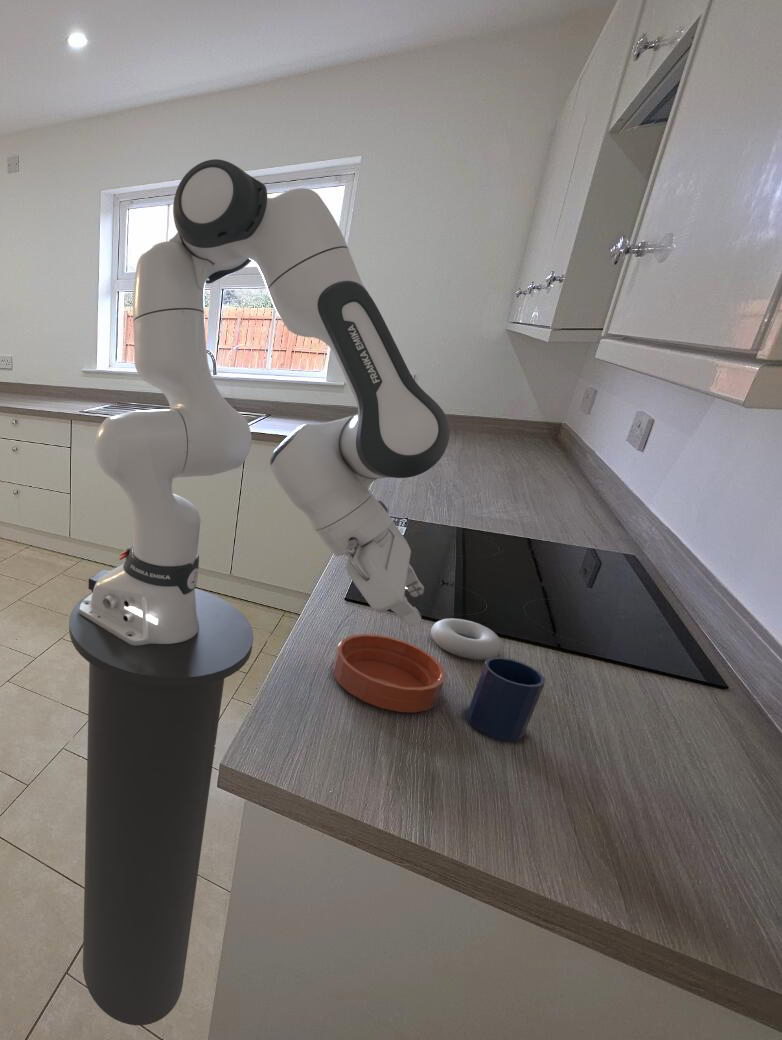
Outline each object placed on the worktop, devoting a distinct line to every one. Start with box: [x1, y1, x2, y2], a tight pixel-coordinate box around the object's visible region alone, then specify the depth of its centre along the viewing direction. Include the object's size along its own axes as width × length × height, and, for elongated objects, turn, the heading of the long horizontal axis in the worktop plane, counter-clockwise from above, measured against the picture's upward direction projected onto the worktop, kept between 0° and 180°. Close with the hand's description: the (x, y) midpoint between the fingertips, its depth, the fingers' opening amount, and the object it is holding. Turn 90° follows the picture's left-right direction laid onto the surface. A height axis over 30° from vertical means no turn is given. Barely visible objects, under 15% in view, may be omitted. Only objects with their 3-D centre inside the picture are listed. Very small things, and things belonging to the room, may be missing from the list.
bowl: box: [332, 633, 447, 713], centre depth 85 cm, size 14×14×4 cm
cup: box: [466, 656, 546, 742], centre depth 76 cm, size 6×6×9 cm
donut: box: [430, 617, 503, 661], centre depth 95 cm, size 10×4×10 cm
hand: (418, 607), depth 78 cm, fingers open, 8 cm apart
